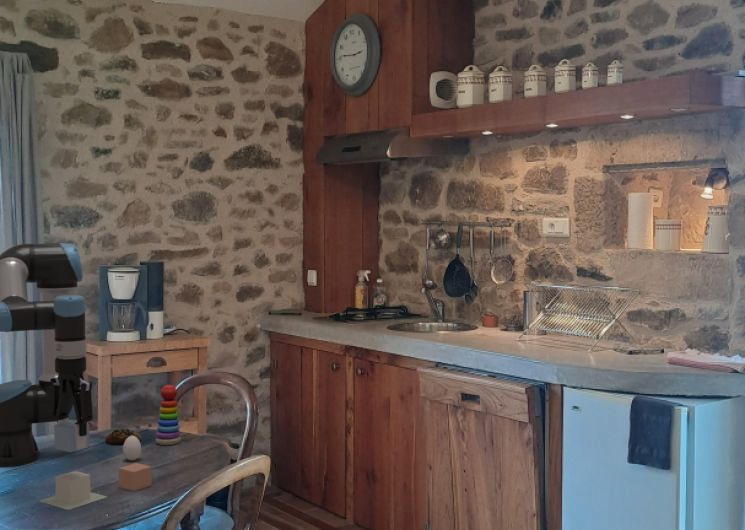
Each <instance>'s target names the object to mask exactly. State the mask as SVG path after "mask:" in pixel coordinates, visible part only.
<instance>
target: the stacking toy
mask: <svg viewBox="0 0 745 530" xmlns="http://www.w3.org/2000/svg"><path fill="white" fill-rule="evenodd" d="M177 395H178V391H177V388H176V387H175V386H174V385H172V384H166V385H164V386H163V387H162V388H161V390H160V397H161V398H162V400H161V401H160V407H159V415H158V417H159V419H158V421H157V423H158V425H157V431H156V433H155V436H156V437H155V442H156V444H158V445H159V446H172V445H173V446H174V445H177V444H179V443H180V442H181V440H182V437H181V431H180V427H181V426H180V425H179V422H180V419H179V418H178V417H179V413H178V407H177V406H176V405H177V403H178V401H177V400H176V399H175V398H176V397H177Z"/></svg>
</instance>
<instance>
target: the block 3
mask: <svg viewBox="0 0 745 530" xmlns="http://www.w3.org/2000/svg"><path fill="white" fill-rule="evenodd" d="M152 481H153V480H152V466H150V465H146V464H142V463H138V462H134V463H131V464H128V465H125V466H122V467H118V487H119V488H121V489H125V490H128V491H132V492H135V491H138V490H141V489H145V488H147V487H151V486H152Z"/></svg>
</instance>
